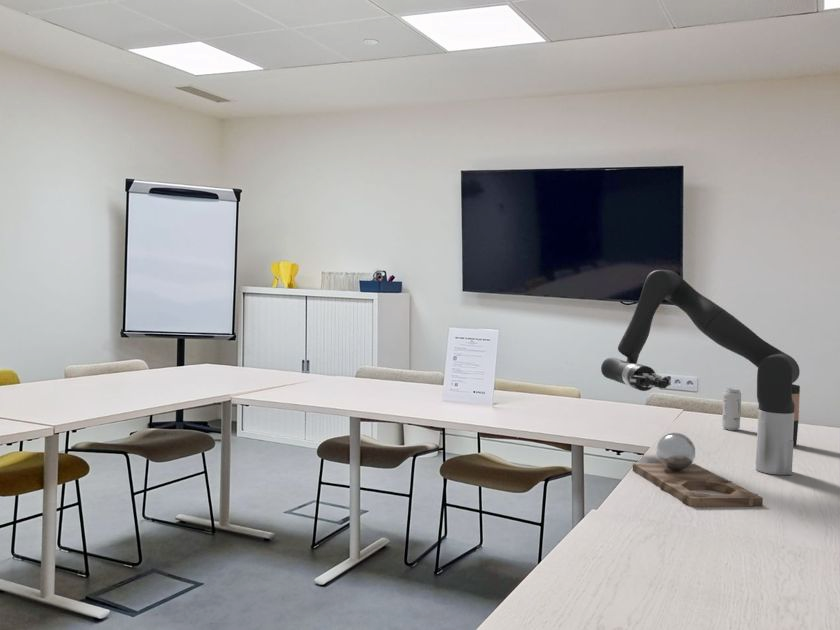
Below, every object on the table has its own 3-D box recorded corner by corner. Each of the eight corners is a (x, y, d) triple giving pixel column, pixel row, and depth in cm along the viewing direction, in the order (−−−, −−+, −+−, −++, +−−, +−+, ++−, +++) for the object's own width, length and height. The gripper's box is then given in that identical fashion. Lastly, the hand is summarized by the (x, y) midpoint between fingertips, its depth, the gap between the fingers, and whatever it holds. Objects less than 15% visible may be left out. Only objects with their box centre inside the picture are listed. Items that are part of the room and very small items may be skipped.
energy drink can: (737, 431, 278) (739, 390, 277) (720, 429, 281) (722, 388, 280) (740, 429, 283) (742, 388, 282) (723, 427, 286) (725, 387, 285)
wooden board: (630, 470, 213) (630, 463, 213) (695, 470, 215) (695, 463, 215) (689, 507, 179) (689, 498, 179) (765, 506, 181) (766, 498, 181)
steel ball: (695, 468, 210) (697, 431, 209) (693, 476, 201) (695, 438, 200) (657, 463, 214) (659, 428, 213) (653, 471, 205) (655, 434, 204)
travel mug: (800, 447, 252) (803, 387, 251) (775, 445, 254) (778, 385, 253) (793, 442, 260) (796, 384, 259) (769, 441, 261) (772, 382, 260)
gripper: (618, 364, 231) (641, 370, 214) (659, 364, 233) (686, 371, 216) (617, 388, 232) (640, 397, 214) (658, 389, 233) (685, 398, 216)
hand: (663, 384), depth 215 cm, fingers closed
